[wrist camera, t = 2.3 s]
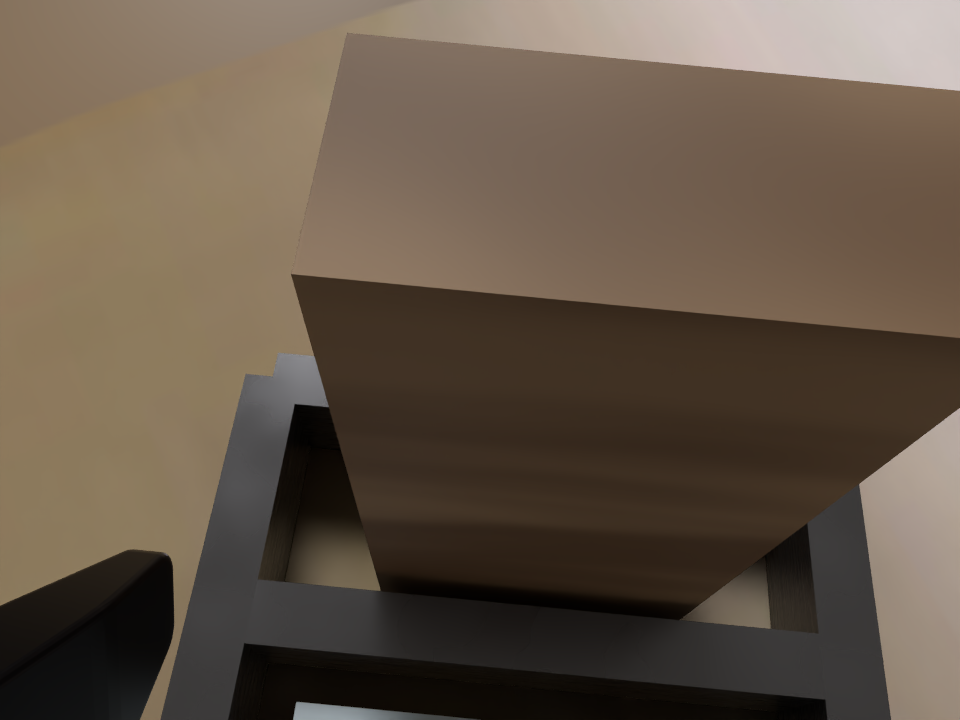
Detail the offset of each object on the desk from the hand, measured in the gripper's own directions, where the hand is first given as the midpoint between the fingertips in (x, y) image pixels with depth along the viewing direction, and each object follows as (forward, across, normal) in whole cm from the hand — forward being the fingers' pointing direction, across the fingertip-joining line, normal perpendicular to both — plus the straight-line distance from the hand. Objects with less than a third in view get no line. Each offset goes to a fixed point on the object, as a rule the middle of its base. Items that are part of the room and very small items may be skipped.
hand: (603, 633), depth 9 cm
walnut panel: (+10, 0, +5) cm, 11 cm away
